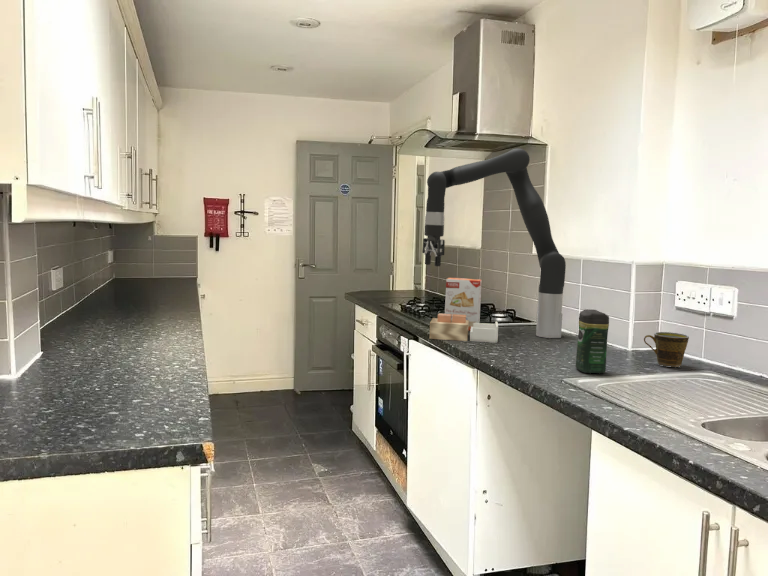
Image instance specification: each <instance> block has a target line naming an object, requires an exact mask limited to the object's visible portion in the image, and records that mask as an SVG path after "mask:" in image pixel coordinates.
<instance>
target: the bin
mask: <svg viewBox="0 0 768 576" xmlns="http://www.w3.org/2000/svg"><path fill="white" fill-rule="evenodd" d="M498 335H499V322H498V321H495V323H485V322H484V323H481V322H480V323H473V327H471V331H469V342H474V343H475V342H478V343H479V342H480V343H491V344H492V343H493V344H496V343H498V341H499V340H498V339H499V338H498Z"/></svg>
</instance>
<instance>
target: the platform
mask: <svg viewBox="0 0 768 576" xmlns="http://www.w3.org/2000/svg"><path fill="white" fill-rule="evenodd" d="M437 321H438V317H432V318H431V321H430V322H429V340H444V341H445V340H446V341H460V342H468V340H469V339H468V338H469V331H468V327H469V320H466V323H452V320H451V323H450V322H437Z"/></svg>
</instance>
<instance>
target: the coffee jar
mask: <svg viewBox="0 0 768 576" xmlns="http://www.w3.org/2000/svg"><path fill="white" fill-rule="evenodd" d="M609 326H610V316H609V315H608V314H606V313H604V312H602V311H600V310H598V309H586V308H585V309H583V310H582V311H580V312H579V313H578V329H577V330H578V331H577V332H578V334H577V344H576V345H577V346H576V356H575V357H576V358H575V368H576V369H577V370H578V371H579V372H582V373H586V374H587V373H588V374H591V373H599V374H605V372H606V367H607V349H608V336H609Z"/></svg>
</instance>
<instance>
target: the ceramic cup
mask: <svg viewBox="0 0 768 576" xmlns="http://www.w3.org/2000/svg"><path fill="white" fill-rule="evenodd" d="M653 335H654V336H653ZM653 335H650V334H647V335H645V336H644V338H643V341H644V343H645V345H647V346H648V347H649V348H650V349H651V350H652V351H653V352H654V354H655V355H656V360H657V361H656V362H657V365H658V364H659V365H663V366H671V367H679V366H681V367H682V364H683V361H684V356H685V353H686V350H687V347H688V343H689V339H690V337H689V335H687V334H684V333H680V332H679V333H678V332H670V331H669V332H667V331H659V332H654V333H653ZM646 338H651V340H653V342H654V344H655V349H654V348H653V347H652V346H651V345H650V344H649V343H648V342H647V341H646ZM659 365H658V366H659Z"/></svg>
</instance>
